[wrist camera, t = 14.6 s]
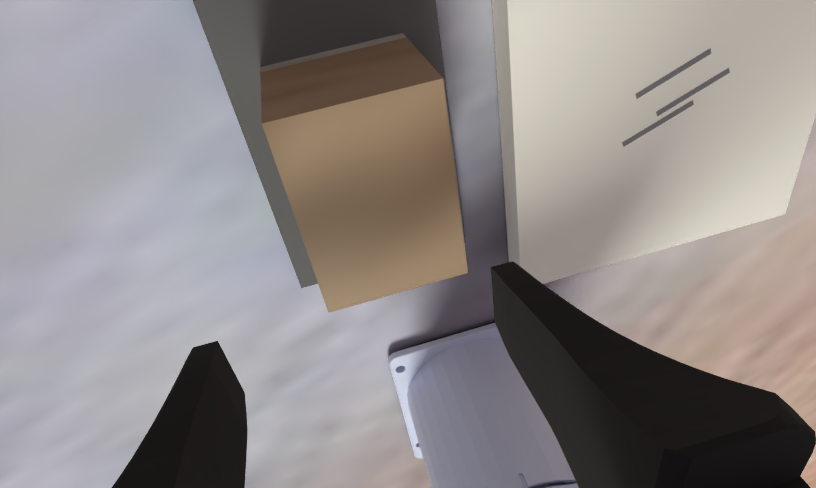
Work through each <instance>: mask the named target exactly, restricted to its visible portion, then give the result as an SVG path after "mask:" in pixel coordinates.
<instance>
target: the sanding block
mask: <svg viewBox="0 0 816 488" xmlns="http://www.w3.org/2000/svg"><path fill="white" fill-rule="evenodd" d="M260 82H261V117H262V126H263V129H264V132H265V134H266V137H267V140H268V143H269V146H270V149H271V151H272V154H273V157H274V160H275V163H276V166H277V168H278V171H279V174H280V177H281V180H282V182H283V185H284V188H285V191H286V194H287V197H288V199H289V202H290V205H291V208H292V211H293V214H294V216H295V219H296V222H297V225H298V228H299V230H300V233H301V236H302V239H303V242H304V245H305V247H306V250H307V253H308V256H309V259H310V262H311V264H312V267H313V270H314V273H315V276H316V278H317V281H318V284H319V287H320V290H321V293H322V295H323V298H324V301H325V304H326V307H327V310H328V312H332V311H336V310H339V309H343V308H346V307H350V306H353V305H357V304H361V303H364V302H368V301H371V300H375V299H378V298H382V297H385V296H389V295H392V294H396V293H399V292H403V291H406V290H410V289H413V288H417V287H420V286H424V285H427V284H431V283H434V282H438V281H441V280H445V279H448V278H452V277H455V276H459V275H462V274H466V273H468V268H467V260H466V252H465V244H464V237H463V229H462V221H461V213H460V205H459V198H458V190H457V182H456V174H455V166H454V159H453V151H452V143H451V135H450V127H449V120H448V112H447V104H446V96H445V88H444V81H443V77H442V76H441V75H440V74H439V73H438V72H437V71H436V70H435V68H434V67H433V66H432V65H431V64H430V63H429V62H428V61H427V59H426V58H425V57H424V56H423V55H422V54H421V53H420V52H419V51H418V49H417V48H416V47H415V46H414V45H413V44H412V43H411V42H410V40H409V39H408V38H407V37H406V36H405V35H404V34H403V33H400V34H396V35H391V36H387V37H383V38H379V39H375V40H371V41H367V42H362V43H358V44H354V45H350V46H346V47H342V48H338V49H333V50H329V51H325V52H321V53H317V54H313V55H308V56H304V57H300V58H296V59H292V60H288V61H284V62H279V63H275V64H271V65H267V66H263V67H260Z"/></svg>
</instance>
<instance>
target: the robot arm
mask: <svg viewBox="0 0 816 488" xmlns="http://www.w3.org/2000/svg"><path fill="white" fill-rule="evenodd" d="M491 274H492V288H493V302H494V316H495V323H492V324H489V325H485V326H482V327H479V328H475V329H472V330H468V331H465V332H462V333H458V334H455V335H451V336H448V337H444V338H441V339H438V340H434V341H431V342H427V343H424V344H421V345H417V346H414V347H410V348H407V349H404V350H400V351H397V352H394V353H392V354H391V355H390V356H389V358H388V362H389V366H390V369H391V373H392V376H393V380H394V384H395V387H396V391H397V394H398V398H399V402H400V405H401V409H402V412H403V416H404V419H405V423H406V427H407V430H408V434H409V437H410V441H411V445H412V448H413V452H414V455H415V457H417V458H423V459H424V463H425V466H426V470H427V473H428V477H429V480H430V484H431V487H432V488H810V487H809V486H808V484H807V483H806V482H805V481H804V480H803V479H802V478H801V477H800V475H801V473H802V471H803V470H804V468H805V466H806V464H807V462H808V460H809V458H810V456H811V454H812V453H813V450H814V447H815V444H816V436H815V431H814V430H813V429H812V428H811V427H810V426H809V425H808V424H807V423H806V422H805V421H804V420H803V419H802V418H801V417H800V416H799V415H798V414H797V413H796V412H795V411H794V410H793V409H792V408H791V407H790V406H789V405H788V404H787V403H786V402H785V401H784V400H782V399H781V398H780V397H779V396H778V395H777V394H776V393H773V392H769V391H766V390H762V389H759V388H755V387H752V386H748V385H745V384H741V383H738V382H734V381H731V380H728V379H725V378H722V377H719V376H716V375H713V374H710V373H707V372H704V371H702V370H699V369H696V368H693V367H691V366H688V365H685V364H683V363H680V362H678V361H676V360H673V359H671V358H669V357H666V356H664V355H662V354H659V353H657V352H654V351H652V350H650V349H648V348H646V347H644V346H642V345H639V344H637V343H636V342H634V341H632V340H630V339H628V338H626V337H624V336H622V335H620V334H618V333H616V332H615V331H613V330H611V329H609V328H608V327H606V326H604V325H603V324H601V323H599V322H598V321H596V320H594V319H593V318H591V317H590V316H588V315H586V314H585V313H583V312H582V311H580V310H579V309H577V308H576V307H574V306H573V305H571V304H570V303H569V302H567V301H566V300H564V299H563V298H561V297H560V296H558V295H557V294H556V293H554V292H553V291H552V290H550V289H549V288H548V287H546V286H545V285H544V284H542V283H541V282H540V281H538V280H537V279H536V278H534V277H533V276H532V275H531V274H529V273H528V272H527V271H525V270H524V269H523V268H522V267H520V266H519V265H518V264H516V263H515V262H513V261H512V262H508V263H505V264H501V265H497V266H494V267H491ZM399 366H401V367H399ZM246 450H247V416H246V404H245V393H244V391H243V389H242V387H241V385H240V383H239V381H238V379H237V377H236V375H235V373H234V372H233V370H232V368H231V366H230V364H229V362H228V360H227V358H226V356H225V354H224V352H223V350H222V348H221V347H220V345H219V343H218V341H216V342H212V343H208V344H204V345H201V346H197V347H193V349H192V350H191V352H190V354H189V356H188V358H187V360H186V362H185V364H184V366H183V368H182V370H181V372H180V374H179V376H178V378H177V380H176V382H175V383H174V385H173V387H172V389H171V391H170V393H169V395H168V397H167V399H166V401H165V402H164V404H163V406H162V408H161V410H160V412H159V413H158V415H157V417H156V419H155V421H154V422H153V424H152V426H151V428H150V429H149V431H148V433H147V434H146V436H145V438H144V439H143V441H142V442H141V444H140V446H139V447H138V449H137V451H136V452H135V454H134V456H133V457H132V459H131V460H130V462H129V463H128V465H127V466H126V468H125V469H124V471H123V472H122V474H121V475H120V477H119V478H118V480H117V481H116V482H115V484H114V485H113V487H112V488H244V486H245V469H246Z"/></svg>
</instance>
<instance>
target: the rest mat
mask: <svg viewBox="0 0 816 488" xmlns="http://www.w3.org/2000/svg"><path fill="white" fill-rule="evenodd" d="M193 3H194V5H195V8H196V11H197V13H198V16H199V19H200V21H201V24H202V26H203V29H204V32H205V34H206V37H207V40H208V42H209V45H210V48H211V50H212V53H213V55H214V58H215V61H216V63H217V66H218V69H219V71H220V74H221V77H222V79H223V82H224V85H225V87H226V90H227V92H228V95H229V98H230V100H231V103H232V106H233V108H234V111H235V114H236V116H237V119H238V121H239V124H240V127H241V129H242V132H243V135H244V137H245V140H246V143H247V145H248V148H249V150H250V153H251V156H252V158H253V161H254V164H255V166H256V169H257V172H258V174H259V177H260V180H261V182H262V185H263V187H264V190H265V193H266V195H267V198H268V201H269V203H270V206H271V209H272V211H273V214H274V216H275V219H276V222H277V224H278V227H279V230H280V232H281V235H282V238H283V240H284V243H285V246H286V248H287V251H288V253H289V256H290V259H291V261H292V264H293V267H294V269H295V272H296V275H297V277H298V280H299V282H300V285H301V288H303V287H307V286H311V285H314V284H318V281H317V278H316V276H315V273H314V270H313V267H312V264H311V262H310V259H309V256H308V253H307V250H306V247H305V245H304V242H303V239H302V236H301V233H300V230H299V228H298V225H297V222H296V219H295V216H294V214H293V211H292V208H291V205H290V202H289V199H288V197H287V194H286V191H285V188H284V185H283V182H282V180H281V177H280V174H279V171H278V168H277V166H276V163H275V160H274V157H273V154H272V151H271V149H270V146H269V143H268V140H267V137H266V134H265V132H264V129H263V126H262V117H261V82H260V67H263V66H267V65H271V64H275V63H279V62H284V61H288V60H292V59H296V58H300V57H304V56H308V55H313V54H317V53H321V52H325V51H329V50H333V49H338V48H342V47H346V46H350V45H354V44H358V43H362V42H367V41H371V40H375V39H379V38H383V37H387V36H391V35H396V34H400V33H403V34H404V35H405V36H406V37H407V38H408V39H409V40H410V42H411V43H412V44H413V45H414V46H415V47H416V48H417V49H418V51H419V52H420V53H421V54H422V55H423V56H424V57H425V58H426V59H427V61H428V62H429V63H430V64H431V65H432V66H433V67H434V68H435V70H436V71H437V72H438V73H439V74H440V75H441V76H442V77H443V81H444V88H445V96H446V104H447V112H448V120H449V127H450V135H451V143H452V151H453V159H454V166H455V174H456V182H457V190H458V198H459V205H460V213H461V221H462V229H463V237H464V243H465V235H464V227H463V219H462V211H461V203H460V195H459V187H458V179H457V171H456V163H455V155H454V147H453V139H452V131H451V122H450V114H449V106H448V98H447V90H446V82H445V74H444V66H443V58H442V50H441V42H440V34H439V26H438V18H437V10H436V2H435V0H193Z"/></svg>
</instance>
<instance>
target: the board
mask: <svg viewBox="0 0 816 488" xmlns="http://www.w3.org/2000/svg"><path fill="white" fill-rule="evenodd" d="M492 11H493V26H494V42H495V57H496V72H497V88H498V103H499V119H500V134H501V149H502V165H503V180H504V196H505V211H506V226H507V242H508V257H509V262H512V261H513V262H515V263H516V264H518V265H519V266H520V267H522V268H523V269H524V270H525V271H527V272H528V273H529V274H531V275H532V276H533V277H534V278H536V279H537V280H538V281H540V282H541V283H542V284H545V283H548V282H552V281H555V280H559V279H562V278H566V277H569V276H573V275H576V274H580V273H583V272H587V271H590V270H593V269H597V268H600V267H604V266H607V265H611V264H614V263H618V262H621V261H625V260H628V259H632V258H635V257H638V256H642V255H645V254H649V253H652V252H656V251H659V250H663V249H666V248H670V247H673V246H677V245H680V244H683V243H687V242H690V241H694V240H697V239H701V238H704V237H708V236H711V235H715V234H718V233H722V232H725V231H728V230H732V229H735V228H739V227H742V226H746V225H749V224H753V223H756V222H760V221H763V220H767V219H770V218H774V217H777V216H780V215H784V214H785V212H786V209H787V206H788V203H789V199H790V196H791V193H792V190H793V187H794V183H795V180H796V177H797V174H798V171H799V167H800V164H801V161H802V158H803V155H804V151H805V148H806V145H807V142H808V139H809V135H810V132H811V129H812V126H813V123H814V120H815V116H816V0H492Z"/></svg>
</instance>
